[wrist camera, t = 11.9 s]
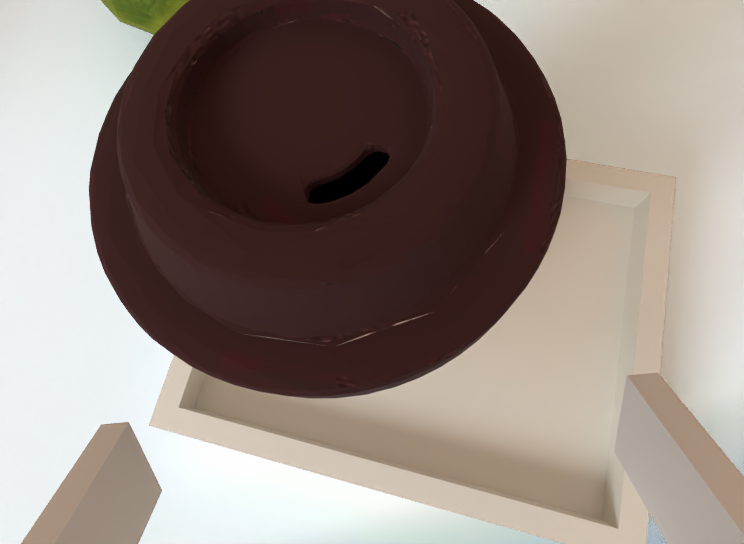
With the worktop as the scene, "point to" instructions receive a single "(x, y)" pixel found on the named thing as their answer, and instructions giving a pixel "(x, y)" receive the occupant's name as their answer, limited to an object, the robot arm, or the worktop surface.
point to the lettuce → (144, 12)
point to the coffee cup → (326, 188)
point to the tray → (495, 387)
